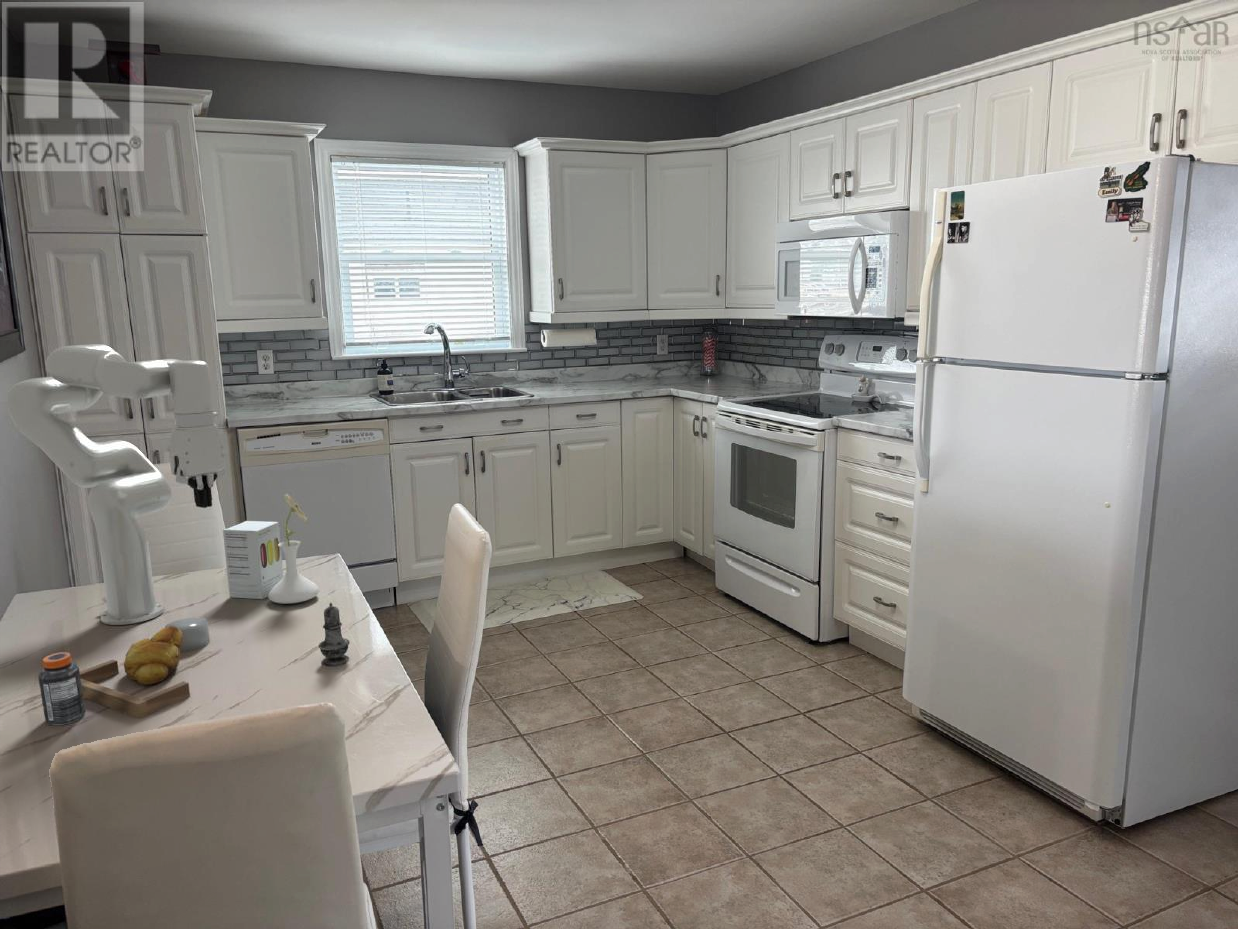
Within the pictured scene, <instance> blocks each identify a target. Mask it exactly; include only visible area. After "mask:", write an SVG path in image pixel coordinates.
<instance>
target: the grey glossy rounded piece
mask: <svg viewBox="0 0 1238 929" xmlns="http://www.w3.org/2000/svg"><path fill="white" fill-rule="evenodd" d="M208 623H209V622H208V620H207V619H206V618H203V617H187V618H181V619H177V620H174V621H172V622H170V623H168V624H166V625H165V626H164V628H167V627H169V626H174V627H176V628H178V629H179V630H180V631H181V632H182V643H181V647H180V653H186V652H193V651H196V650H200V649H203V648H205V647H207V645H209V644H210V631H209V630H210V629H209V624H208Z"/></svg>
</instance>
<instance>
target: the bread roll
mask: <svg viewBox="0 0 1238 929" xmlns="http://www.w3.org/2000/svg"><path fill="white" fill-rule="evenodd" d="M181 643H182V632H181V631H180V630H179V629H178V628H176V627H174V626H169V627H167V628H165V627H164V628H162V629H160V630H159V631H158V632H156V633H155V634H153V635H152V637H151V638H150V639H149V638H143V639H141V640H139V641H137V642H135V643H132V644H131V645H130V647H129V648H128V650H127V652H126V654H125V659H124V662H123V667H124V672H125V674H126V676H127V677H128V678H129V679H131V680H134V681H136V682H138V683H139V684H141V685H153V684H154V685H155V684H156V683H159V682H162V681H164V679H166V677H167V675H168V674H171V673H172V672H173V671H175V670H176V669H177V668H178V666H179V664H180V655H181V652H180V647H181Z"/></svg>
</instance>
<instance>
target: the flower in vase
mask: <svg viewBox="0 0 1238 929" xmlns="http://www.w3.org/2000/svg"><path fill="white" fill-rule="evenodd" d="M284 499H285V500H286V502H287V504H288V505H289V507H290V511H289V513H288V516H287V518H286V521H285V524H284V529H285V536H284V538H285V539H287V540H286V541H282V542H280V543H279V544H278V546H279V547H280V548H281V552H282V553H283V555H284V559H285V566H286V567H285V568H286V572H285V575H283V579H282V580H281V581H279V582H278V583H277V584H276V585H275V586H274V587H273V588H272V589H271V590H270V592H269V595H268V597H267V598H268V599H269V600H270V601H271V602H273V603H277V604H283V605H284V604H285V605H286V604H297V603H302V602H306V601H309V600H311V599H313V598H314V597H316V596H318V593H319V592H320V589H319V586H318V585H317V584H316V583H314V582H313V581H311V580H309V579H308V578H307V577H304V576H303V575H301V574H300V573H299V571H298V567H297V552H298V549H299V547H300V545H301V541H300V540H289V539H290V537H291V536H292V535H294V534H295V531H293V530H289V529H288V522H289V519H290V517H291V515H292V513H295V514H296V515H297V516H298V517H299V518H300V519H301V520H302V521H303V522H307V520H308V517H307V516H306V514H305V512H303V511H302V510H301V509H300V505H299V504H298V503H297V502H295V501H294V499H293V498H292V496H291V495H289V494H288V493H286V494H284Z"/></svg>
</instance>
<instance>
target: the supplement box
mask: <svg viewBox="0 0 1238 929" xmlns="http://www.w3.org/2000/svg"><path fill="white" fill-rule="evenodd" d="M222 534H223V546H224V553H225V554H224V555H225V556H224V557H225V564H226V575H227V583H228V584H227V586H228V593H229V594H228V595H229V598H239V599H254V600H264V599H266V598H268V595H269V592H270V590H271V589H272V588H273V587H274V586H275V585H276V584H277V583H278V582H279V581H281V580H282V579H283V578H284V569H283V558H282V549H281V548H280V547H279V546H278V544H279V543H281V537H280V536H281V535H280V525H279V521H264V520H263V521H262V520H259V521H258V520H244V521H243V522H241V523H238V524H235V525H234V526H230V527H228V528H225V529H223V530H222Z"/></svg>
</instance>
